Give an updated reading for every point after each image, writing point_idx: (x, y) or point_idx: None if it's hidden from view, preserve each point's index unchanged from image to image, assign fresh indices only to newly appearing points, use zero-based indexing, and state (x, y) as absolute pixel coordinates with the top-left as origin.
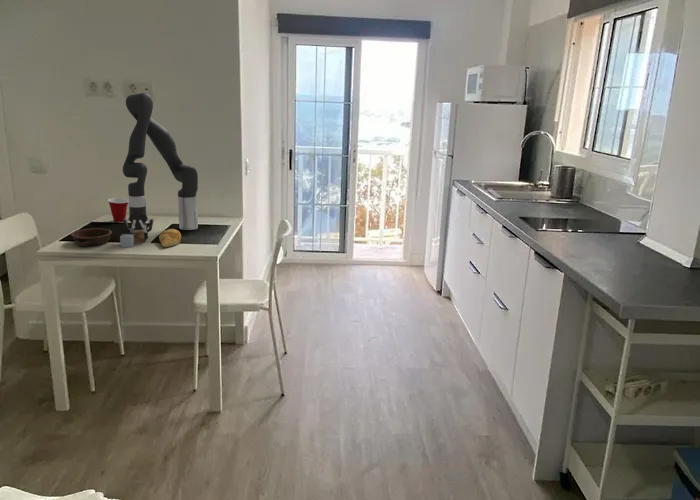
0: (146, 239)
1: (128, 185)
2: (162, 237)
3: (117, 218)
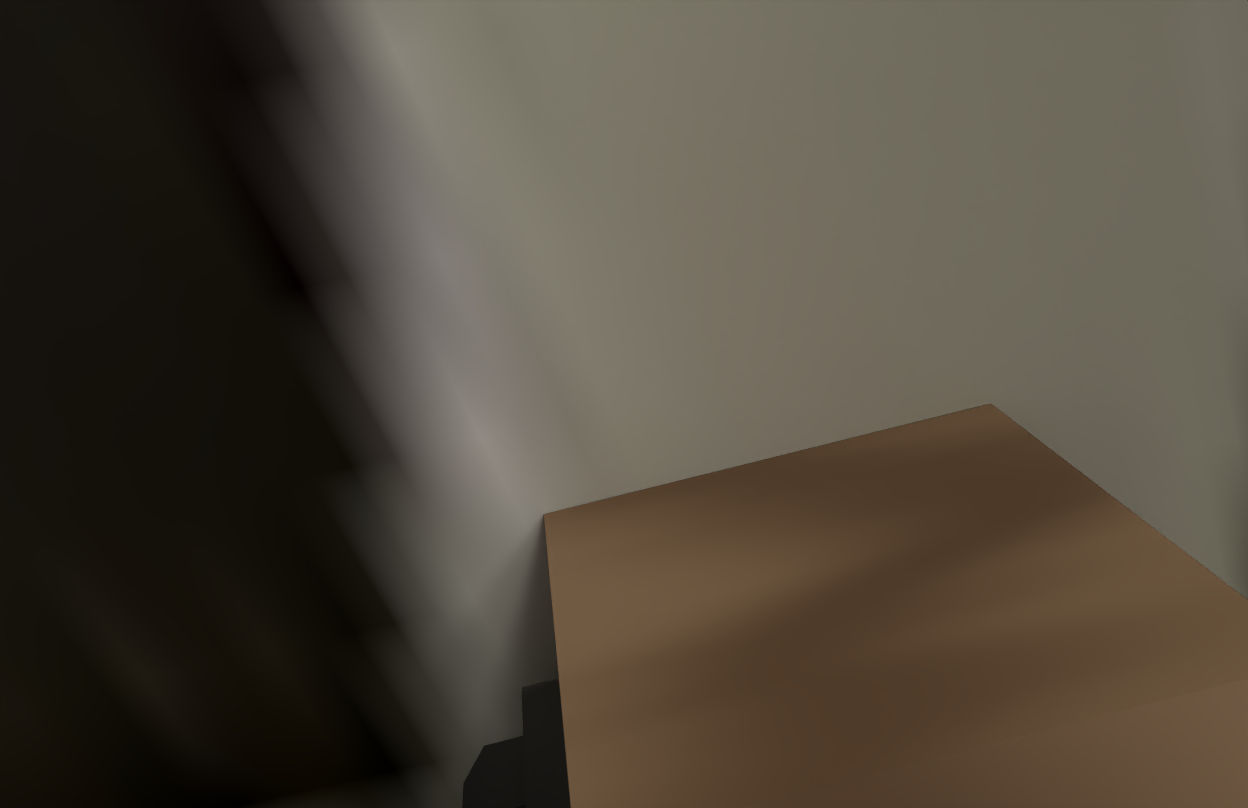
0: None
1: None
2: None
3: None
